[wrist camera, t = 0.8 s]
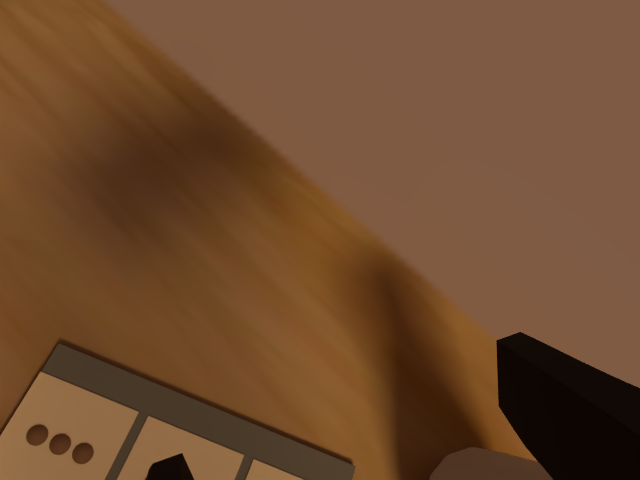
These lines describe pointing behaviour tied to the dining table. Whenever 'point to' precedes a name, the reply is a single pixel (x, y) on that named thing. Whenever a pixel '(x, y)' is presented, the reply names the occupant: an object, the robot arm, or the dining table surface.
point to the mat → (140, 432)
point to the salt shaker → (487, 467)
